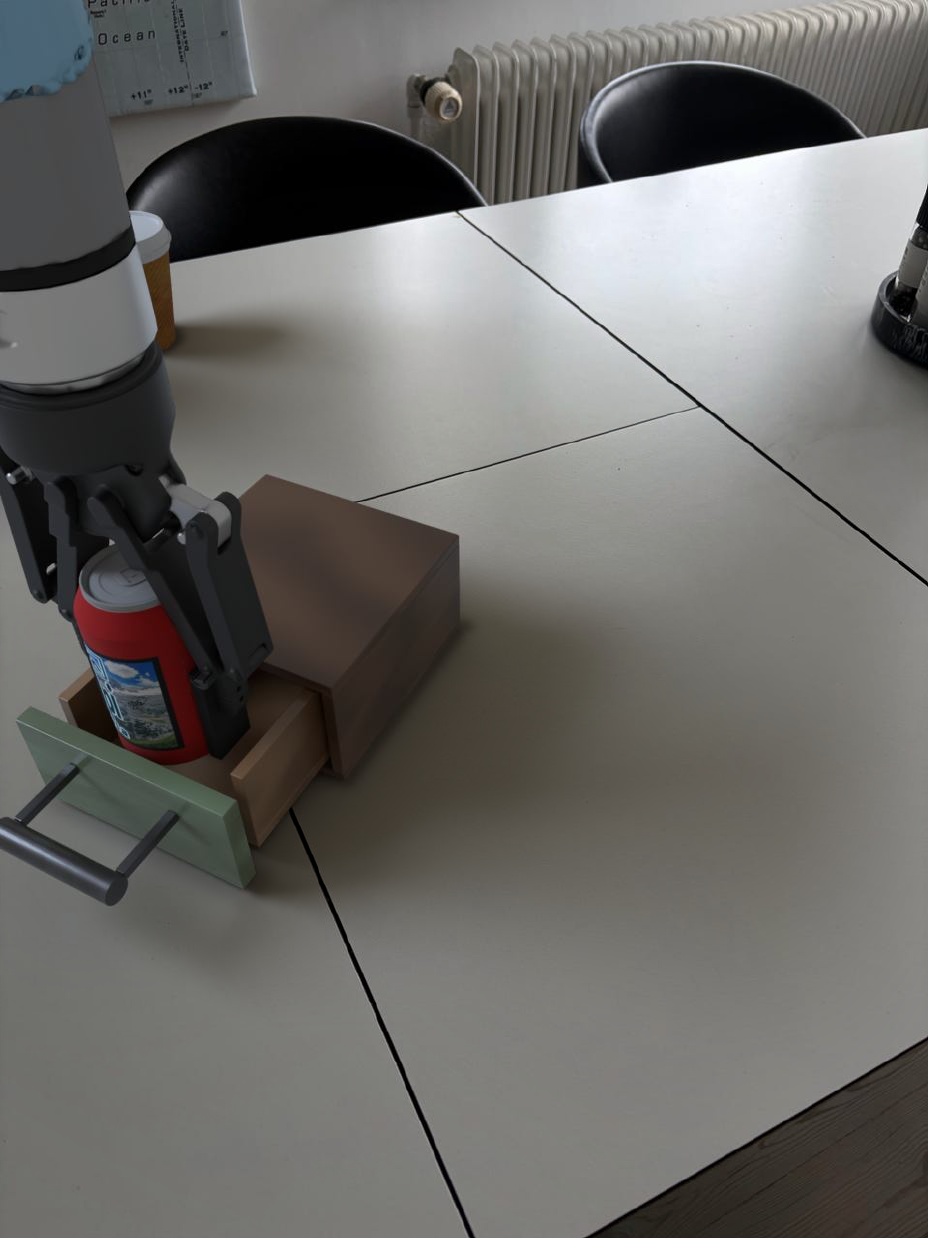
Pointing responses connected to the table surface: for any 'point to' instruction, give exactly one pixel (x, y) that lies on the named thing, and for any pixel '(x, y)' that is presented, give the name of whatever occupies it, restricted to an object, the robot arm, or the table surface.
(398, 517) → the cabinet
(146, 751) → the beverage can
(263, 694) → the drawer
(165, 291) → the disposable coffee cup
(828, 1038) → the table surface
